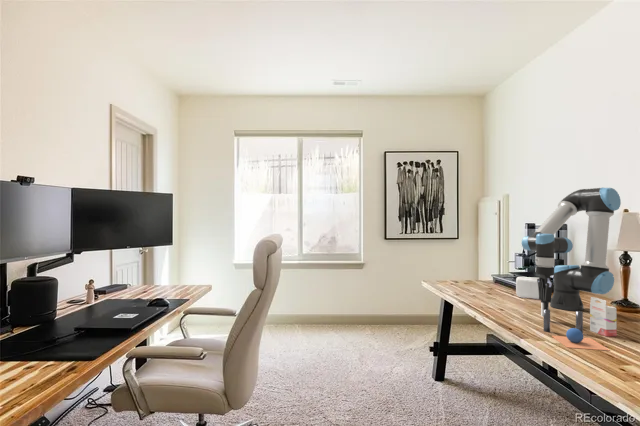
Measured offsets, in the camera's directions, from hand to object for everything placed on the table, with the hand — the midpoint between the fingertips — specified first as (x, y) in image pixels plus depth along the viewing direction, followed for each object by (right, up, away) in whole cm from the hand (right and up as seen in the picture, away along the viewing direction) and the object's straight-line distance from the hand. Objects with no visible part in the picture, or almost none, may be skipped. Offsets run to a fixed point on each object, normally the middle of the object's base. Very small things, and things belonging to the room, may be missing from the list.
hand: (544, 316), depth 175 cm
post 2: (+2, -2, -20) cm, 20 cm away
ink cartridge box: (+12, -2, -20) cm, 23 cm away
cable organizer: (+23, -3, +53) cm, 57 cm away
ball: (-8, +1, -32) cm, 33 cm away
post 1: (-10, -2, -18) cm, 20 cm away
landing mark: (-6, -1, -32) cm, 33 cm away
